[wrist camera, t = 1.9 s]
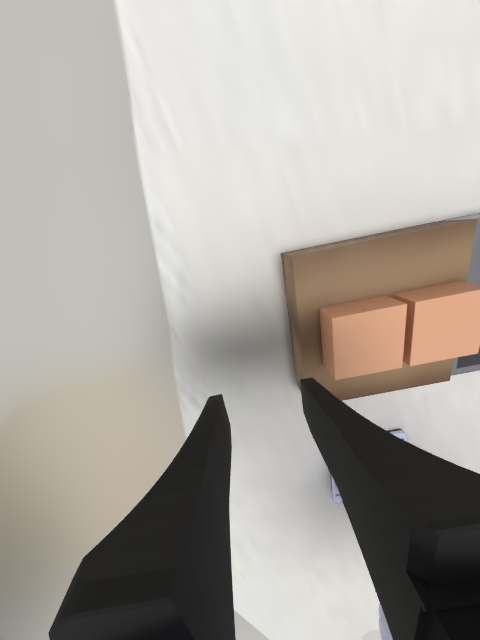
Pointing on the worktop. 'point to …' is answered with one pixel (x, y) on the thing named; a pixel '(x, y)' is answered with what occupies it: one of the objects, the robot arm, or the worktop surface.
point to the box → (476, 275)
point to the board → (371, 294)
